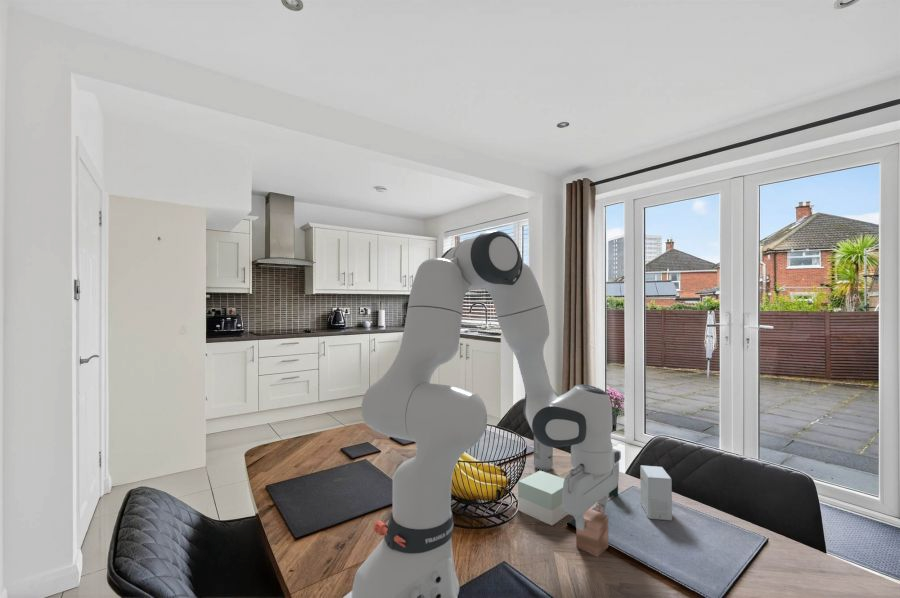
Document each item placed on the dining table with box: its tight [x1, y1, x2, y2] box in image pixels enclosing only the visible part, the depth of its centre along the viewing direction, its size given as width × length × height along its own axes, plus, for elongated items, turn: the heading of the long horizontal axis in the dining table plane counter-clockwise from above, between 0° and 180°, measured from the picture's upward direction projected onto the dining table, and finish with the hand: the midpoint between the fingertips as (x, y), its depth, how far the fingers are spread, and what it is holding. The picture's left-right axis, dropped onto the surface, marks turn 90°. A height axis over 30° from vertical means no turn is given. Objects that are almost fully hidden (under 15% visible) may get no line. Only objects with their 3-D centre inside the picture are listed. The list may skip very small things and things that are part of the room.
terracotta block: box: [575, 507, 609, 558], centre depth 92 cm, size 5×5×7 cm
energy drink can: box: [533, 434, 554, 472], centre depth 135 cm, size 6×6×15 cm
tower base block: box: [517, 497, 569, 526], centre depth 108 cm, size 10×10×4 cm
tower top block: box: [517, 470, 565, 511], centre depth 108 cm, size 10×10×4 cm
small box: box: [639, 465, 673, 521], centre depth 107 cm, size 8×6×10 cm
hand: (591, 519), depth 93 cm, fingers open, 8 cm apart
